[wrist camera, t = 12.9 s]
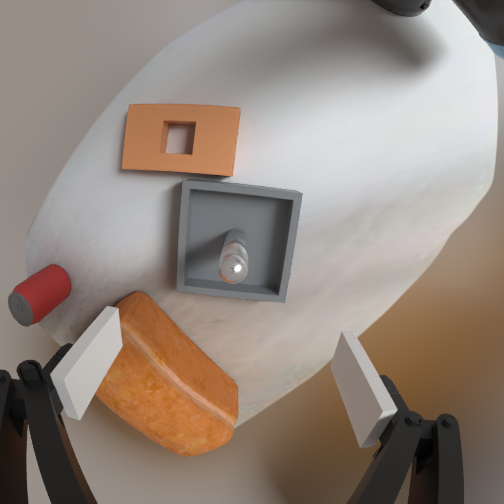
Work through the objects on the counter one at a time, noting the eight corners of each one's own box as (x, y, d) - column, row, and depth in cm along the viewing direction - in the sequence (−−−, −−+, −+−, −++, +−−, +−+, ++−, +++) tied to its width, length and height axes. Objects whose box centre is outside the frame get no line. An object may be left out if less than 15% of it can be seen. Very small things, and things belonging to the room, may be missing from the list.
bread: (192, 412, 51) (181, 474, 35) (95, 322, 44) (52, 375, 29) (245, 385, 49) (246, 453, 33) (142, 281, 42) (100, 334, 27)
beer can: (70, 265, 41) (29, 293, 30) (74, 300, 43) (38, 334, 31) (43, 261, 41) (2, 286, 29) (48, 294, 43) (11, 324, 31)
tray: (296, 190, 39) (302, 193, 35) (281, 290, 43) (284, 302, 39) (188, 179, 38) (182, 180, 34) (182, 280, 42) (176, 291, 38)
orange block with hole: (240, 112, 36) (240, 107, 33) (232, 175, 38) (231, 176, 35) (136, 108, 35) (129, 104, 32) (129, 168, 37) (121, 169, 34)
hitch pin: (248, 229, 39) (250, 260, 26) (246, 250, 40) (246, 290, 27) (226, 227, 39) (217, 256, 26) (224, 248, 40) (215, 286, 27)
